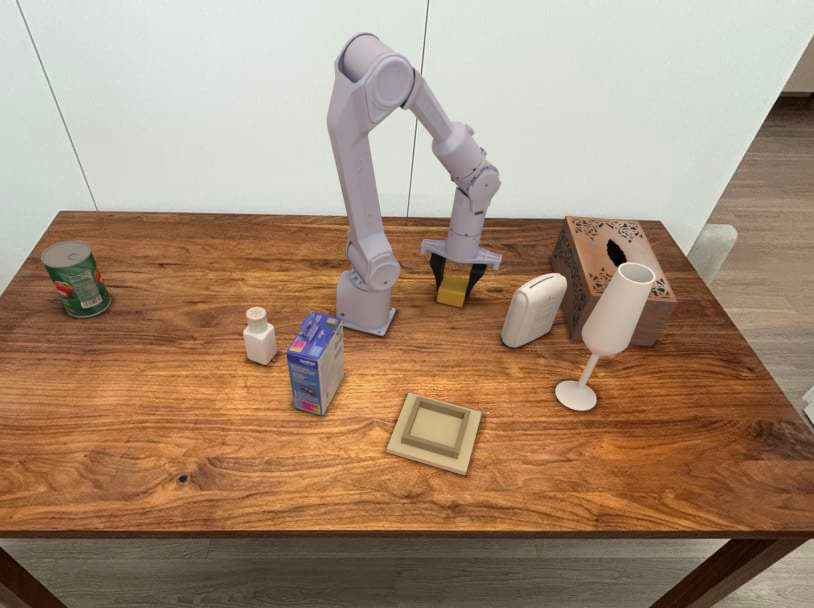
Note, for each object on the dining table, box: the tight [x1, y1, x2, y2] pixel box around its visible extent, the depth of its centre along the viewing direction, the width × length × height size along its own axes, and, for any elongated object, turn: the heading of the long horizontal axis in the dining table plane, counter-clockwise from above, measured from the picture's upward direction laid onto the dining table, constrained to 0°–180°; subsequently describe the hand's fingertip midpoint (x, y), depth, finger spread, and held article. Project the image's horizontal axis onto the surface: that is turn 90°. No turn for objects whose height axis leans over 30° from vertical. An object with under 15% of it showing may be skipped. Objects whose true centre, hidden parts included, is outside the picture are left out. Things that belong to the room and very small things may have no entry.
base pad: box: [385, 391, 483, 476], centre depth 81 cm, size 12×12×2 cm
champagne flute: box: [554, 263, 656, 412], centre depth 79 cm, size 7×7×24 cm
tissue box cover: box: [550, 215, 679, 347], centre depth 102 cm, size 26×14×10 cm, turn 175°
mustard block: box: [436, 274, 469, 309], centre depth 103 cm, size 5×5×3 cm
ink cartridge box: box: [285, 311, 345, 417], centre depth 82 cm, size 10×6×14 cm, turn 161°
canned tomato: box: [40, 240, 112, 319], centre depth 95 cm, size 8×8×11 cm
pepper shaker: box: [242, 306, 278, 366], centre depth 88 cm, size 4×4×10 cm
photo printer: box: [500, 272, 567, 349], centre depth 93 cm, size 10×4×12 cm, turn 123°
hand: (453, 291), depth 103 cm, fingers closed on mustard block, 5 cm apart
